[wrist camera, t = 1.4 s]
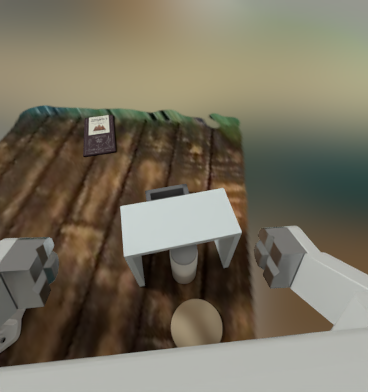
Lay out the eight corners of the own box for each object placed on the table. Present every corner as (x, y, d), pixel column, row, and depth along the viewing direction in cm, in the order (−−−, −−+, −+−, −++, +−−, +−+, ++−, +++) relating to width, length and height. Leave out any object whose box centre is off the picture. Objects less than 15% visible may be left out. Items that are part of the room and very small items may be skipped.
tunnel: (228, 267, 48) (241, 232, 37) (139, 286, 46) (123, 256, 34) (215, 229, 54) (223, 187, 42) (135, 245, 51) (120, 206, 40)
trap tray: (195, 225, 54) (196, 218, 52) (152, 233, 53) (150, 226, 51) (186, 191, 60) (186, 183, 58) (146, 198, 59) (145, 190, 57)
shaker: (186, 289, 46) (186, 269, 37) (167, 274, 48) (163, 251, 39) (200, 269, 48) (203, 246, 39) (182, 256, 50) (181, 230, 41)
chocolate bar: (83, 155, 67) (84, 118, 78) (84, 158, 68) (85, 120, 79) (115, 150, 69) (112, 114, 79) (116, 153, 69) (113, 117, 80)
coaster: (202, 371, 38) (203, 371, 38) (160, 331, 42) (160, 331, 41) (231, 321, 42) (232, 320, 42) (191, 289, 46) (191, 288, 45)
